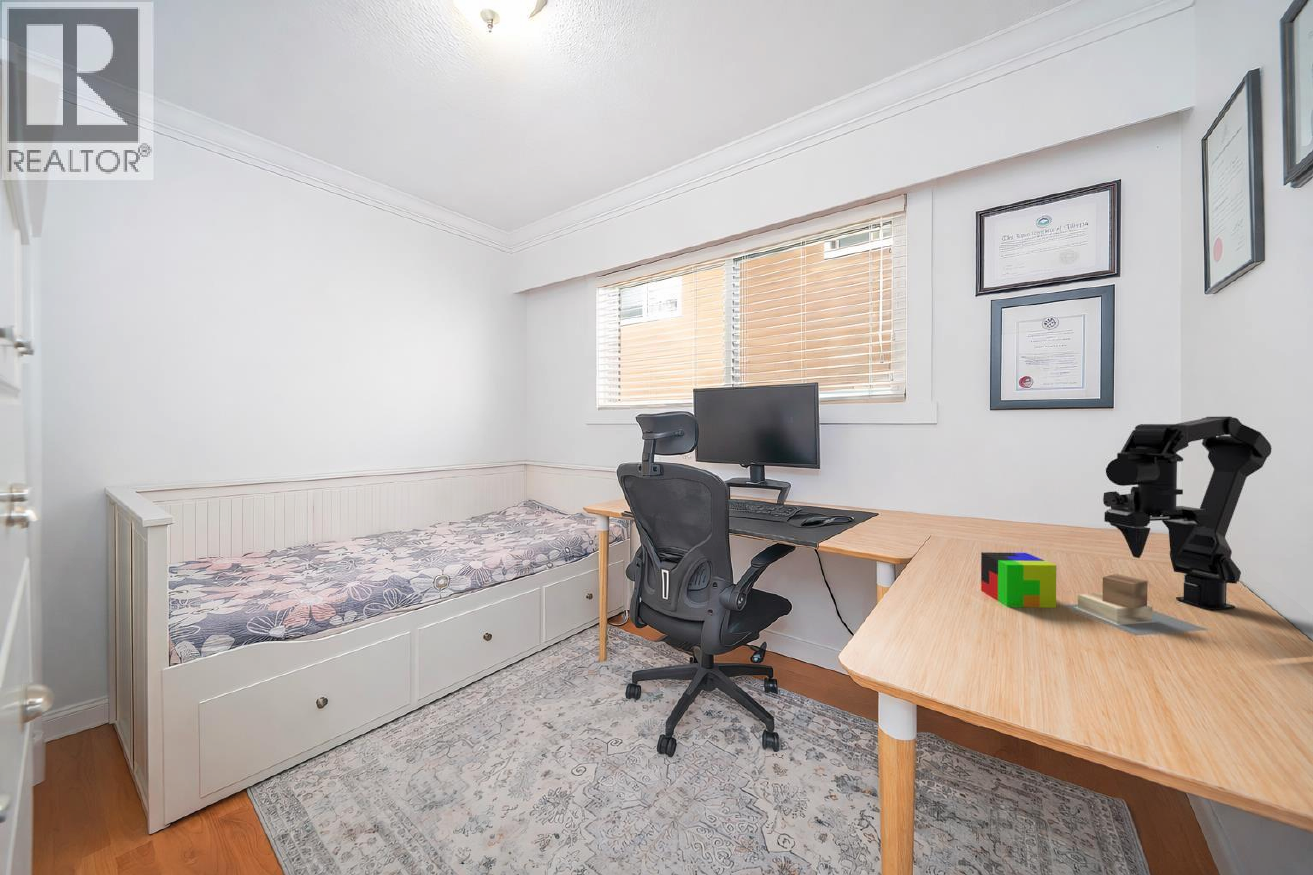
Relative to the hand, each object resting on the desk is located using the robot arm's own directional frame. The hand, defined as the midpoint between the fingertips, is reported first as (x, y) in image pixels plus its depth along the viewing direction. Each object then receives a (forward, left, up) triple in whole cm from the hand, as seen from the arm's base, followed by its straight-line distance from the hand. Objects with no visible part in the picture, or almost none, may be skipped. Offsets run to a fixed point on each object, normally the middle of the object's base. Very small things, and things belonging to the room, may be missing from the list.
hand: (1155, 556), depth 103 cm
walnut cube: (+10, +3, -8) cm, 14 cm away
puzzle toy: (+23, -10, -12) cm, 28 cm away
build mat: (+9, +3, -12) cm, 15 cm away
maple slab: (+11, +1, -11) cm, 16 cm away
